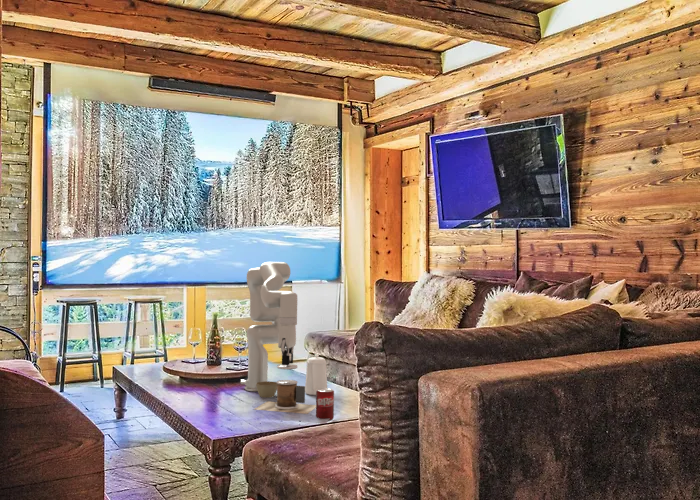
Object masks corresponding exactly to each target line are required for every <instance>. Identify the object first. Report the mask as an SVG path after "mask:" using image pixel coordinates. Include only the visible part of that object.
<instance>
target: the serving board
mask: <svg viewBox="0 0 700 500" xmlns="http://www.w3.org/2000/svg"><path fill="white" fill-rule="evenodd" d="M275 404H277V401H270V400H269V401H265V402H263V403H262V404H260V405H259V406H257V407H255V408H253V410H257V411H266V412H278V413H279V412H281V413H291V414H293V413H294V414H304V415H305V414H306V415H308V414H310V413H312V411H313V410H316V404H309V403H308V404H305V403H297V404H298V408H297V409H294V410H279V409H276V408H275Z"/></svg>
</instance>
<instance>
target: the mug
mask: <svg viewBox="0 0 700 500" xmlns="http://www.w3.org/2000/svg"><path fill="white" fill-rule="evenodd" d="M276 382H277V391H276V402H277V404H275V408H276V409H279V410H294V409H297V408H298V404H305V402H306V393H305V385H298V383H299V381H298V380H293V379H281V380H277V381H276Z"/></svg>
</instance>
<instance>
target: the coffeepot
mask: <svg viewBox="0 0 700 500" xmlns="http://www.w3.org/2000/svg"><path fill="white" fill-rule="evenodd" d="M319 356H320V355H319V353H317V354H314V356H312V357H309V358H308V359H307V361H306V363H307V365H306V372H305V374H306V376H305V382H304V384H305V385H304V386H305V395H310V396H316V391H317V390H318V389H322V388H328V379H327V361H326V359H325V358H324V357H321V356H320V357H319Z"/></svg>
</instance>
